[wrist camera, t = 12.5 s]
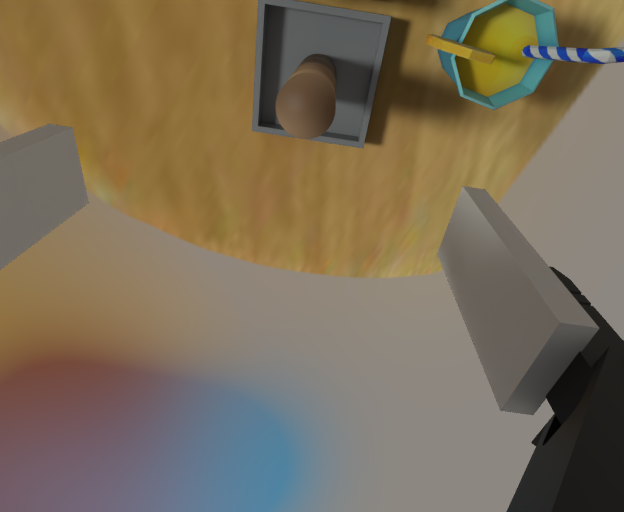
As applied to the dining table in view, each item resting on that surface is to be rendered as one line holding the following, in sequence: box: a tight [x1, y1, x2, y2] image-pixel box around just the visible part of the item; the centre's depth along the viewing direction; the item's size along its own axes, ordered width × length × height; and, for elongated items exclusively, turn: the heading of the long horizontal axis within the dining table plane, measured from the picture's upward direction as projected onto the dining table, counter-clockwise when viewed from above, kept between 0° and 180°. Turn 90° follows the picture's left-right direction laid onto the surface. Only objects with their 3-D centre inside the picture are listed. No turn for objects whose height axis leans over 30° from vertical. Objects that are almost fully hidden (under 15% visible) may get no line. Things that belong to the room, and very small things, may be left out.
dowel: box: [276, 54, 337, 139], centre depth 32 cm, size 4×4×16 cm
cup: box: [425, 0, 624, 110], centre depth 30 cm, size 14×8×15 cm, turn 93°
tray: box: [252, 0, 391, 148], centre depth 38 cm, size 12×12×2 cm
